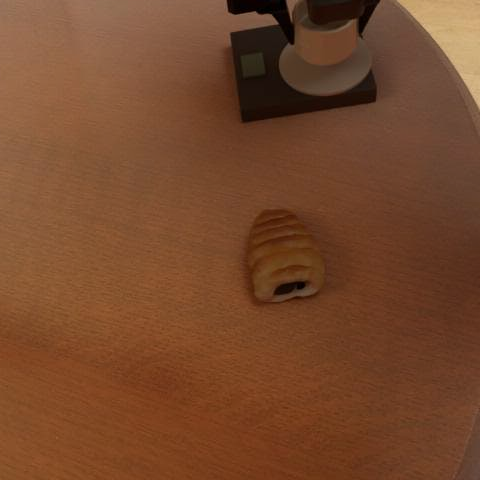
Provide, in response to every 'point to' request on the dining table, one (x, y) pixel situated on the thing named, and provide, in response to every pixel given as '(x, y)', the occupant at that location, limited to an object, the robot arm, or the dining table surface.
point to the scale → (295, 76)
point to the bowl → (323, 38)
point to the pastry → (283, 257)
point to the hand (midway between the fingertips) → (325, 36)
